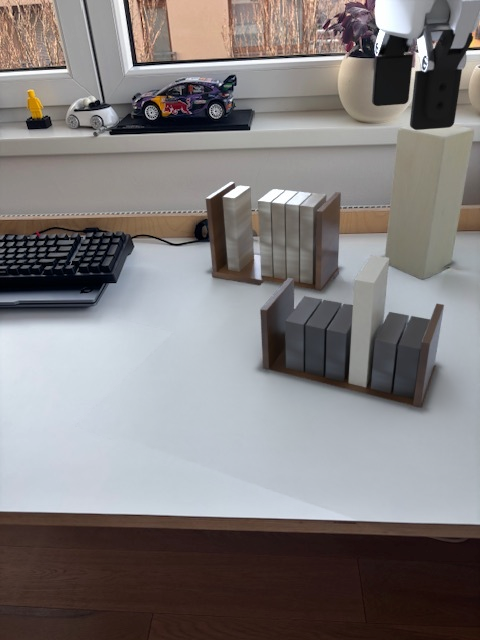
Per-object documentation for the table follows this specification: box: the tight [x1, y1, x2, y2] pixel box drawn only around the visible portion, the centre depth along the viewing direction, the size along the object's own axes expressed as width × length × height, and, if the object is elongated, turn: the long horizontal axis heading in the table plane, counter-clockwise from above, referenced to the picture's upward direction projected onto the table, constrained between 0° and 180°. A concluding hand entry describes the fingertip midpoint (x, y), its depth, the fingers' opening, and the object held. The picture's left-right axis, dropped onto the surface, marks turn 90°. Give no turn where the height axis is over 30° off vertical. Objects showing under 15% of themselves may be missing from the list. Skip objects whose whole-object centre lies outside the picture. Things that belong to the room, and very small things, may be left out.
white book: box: [349, 255, 390, 387], centre depth 59 cm, size 2×6×13 cm, turn 153°
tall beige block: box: [384, 124, 475, 280], centre depth 80 cm, size 8×7×21 cm
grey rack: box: [259, 278, 445, 409], centre depth 61 cm, size 18×8×9 cm, turn 63°
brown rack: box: [205, 181, 342, 292], centre depth 82 cm, size 18×8×13 cm, turn 63°
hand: (408, 115), depth 45 cm, fingers open, 9 cm apart
